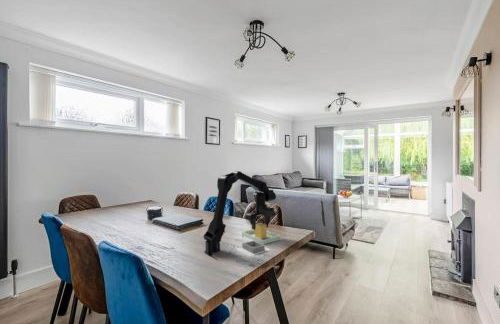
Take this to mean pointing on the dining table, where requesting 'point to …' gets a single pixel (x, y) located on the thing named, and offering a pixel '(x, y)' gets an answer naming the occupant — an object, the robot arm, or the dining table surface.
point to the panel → (252, 248)
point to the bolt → (260, 221)
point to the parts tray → (251, 232)
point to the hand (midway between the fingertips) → (260, 228)
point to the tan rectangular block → (260, 231)
